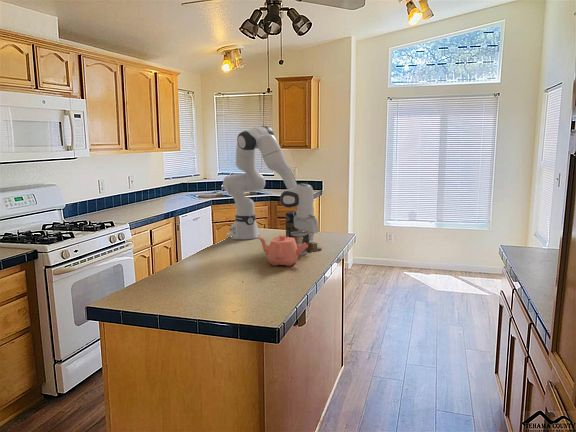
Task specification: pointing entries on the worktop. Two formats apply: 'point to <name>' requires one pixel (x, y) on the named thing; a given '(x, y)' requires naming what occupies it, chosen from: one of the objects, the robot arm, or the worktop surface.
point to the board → (312, 247)
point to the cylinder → (306, 237)
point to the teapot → (282, 250)
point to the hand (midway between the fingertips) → (306, 238)
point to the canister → (290, 224)
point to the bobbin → (299, 239)
